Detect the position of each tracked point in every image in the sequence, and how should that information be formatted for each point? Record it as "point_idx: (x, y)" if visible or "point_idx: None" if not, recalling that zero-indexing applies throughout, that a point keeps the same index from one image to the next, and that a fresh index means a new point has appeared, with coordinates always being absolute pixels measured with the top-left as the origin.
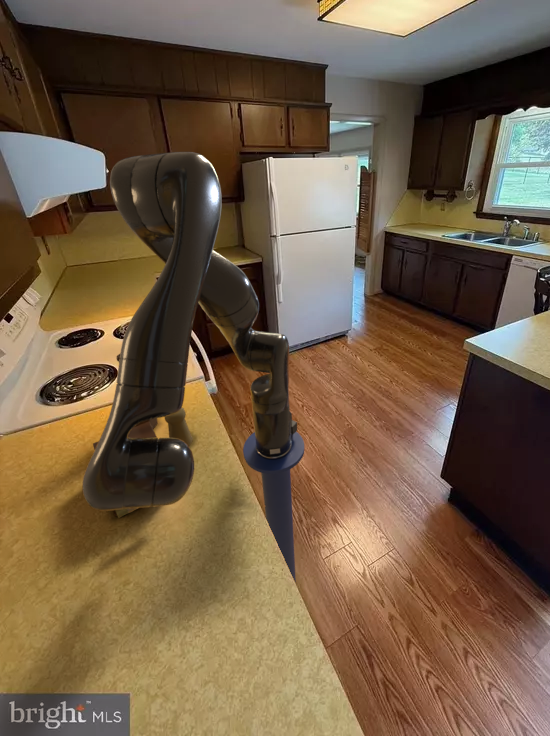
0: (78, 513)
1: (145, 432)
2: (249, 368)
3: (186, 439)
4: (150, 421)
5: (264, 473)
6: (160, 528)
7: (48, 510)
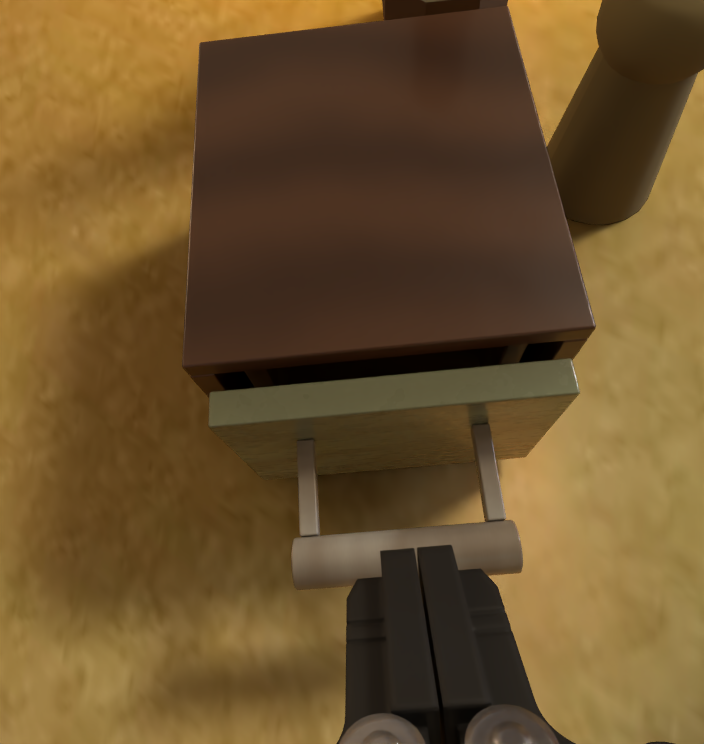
0: (133, 350)
1: (479, 76)
2: None
3: (638, 186)
4: None
5: None
6: None
7: (47, 279)
